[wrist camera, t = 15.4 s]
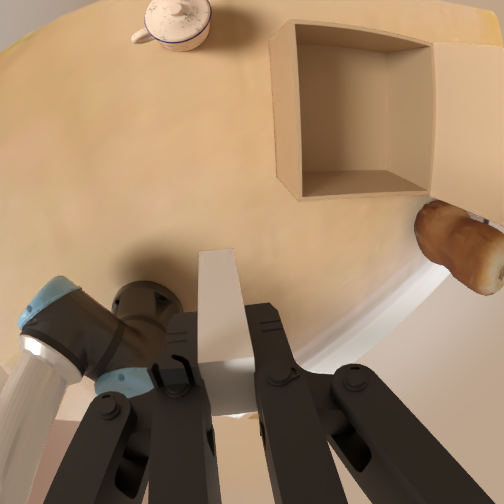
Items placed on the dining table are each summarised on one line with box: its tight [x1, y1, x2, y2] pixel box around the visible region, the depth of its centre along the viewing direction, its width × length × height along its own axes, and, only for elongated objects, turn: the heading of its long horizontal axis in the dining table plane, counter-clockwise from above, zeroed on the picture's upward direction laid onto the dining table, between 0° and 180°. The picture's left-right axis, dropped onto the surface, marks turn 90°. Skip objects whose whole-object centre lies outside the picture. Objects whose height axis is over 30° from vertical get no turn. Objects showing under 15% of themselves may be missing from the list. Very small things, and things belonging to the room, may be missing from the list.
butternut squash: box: [414, 200, 504, 296], centre depth 48 cm, size 14×13×25 cm
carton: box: [269, 19, 436, 202], centre depth 41 cm, size 24×22×14 cm
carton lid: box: [430, 42, 504, 227], centre depth 27 cm, size 25×22×1 cm
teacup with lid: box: [131, 0, 211, 52], centre depth 33 cm, size 12×9×12 cm
